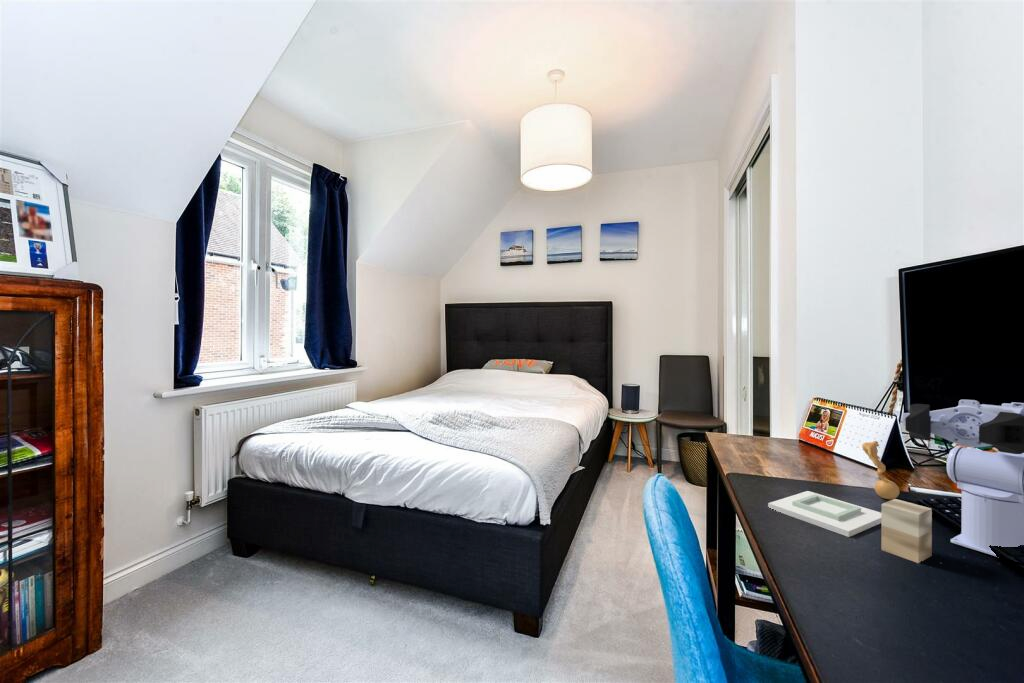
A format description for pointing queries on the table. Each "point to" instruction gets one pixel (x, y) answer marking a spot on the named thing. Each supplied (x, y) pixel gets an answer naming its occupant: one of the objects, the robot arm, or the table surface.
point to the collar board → (828, 513)
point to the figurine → (884, 485)
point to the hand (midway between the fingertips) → (943, 428)
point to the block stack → (906, 530)
